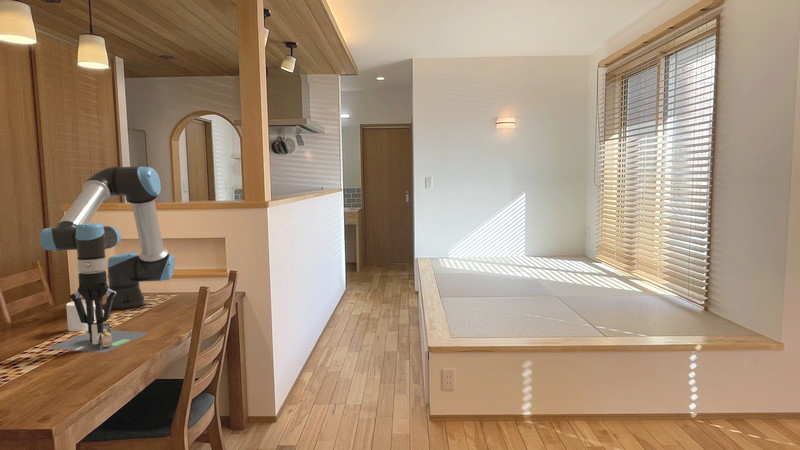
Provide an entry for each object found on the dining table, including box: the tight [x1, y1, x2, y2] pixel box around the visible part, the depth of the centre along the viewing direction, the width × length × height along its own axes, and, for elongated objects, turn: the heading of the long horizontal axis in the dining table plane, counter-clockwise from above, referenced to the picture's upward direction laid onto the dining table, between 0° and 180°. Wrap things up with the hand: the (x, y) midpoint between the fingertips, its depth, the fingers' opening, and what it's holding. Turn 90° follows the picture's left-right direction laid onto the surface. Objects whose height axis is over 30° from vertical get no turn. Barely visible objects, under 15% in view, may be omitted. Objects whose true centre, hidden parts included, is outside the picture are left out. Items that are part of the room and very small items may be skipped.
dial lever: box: [90, 322, 112, 347], centre depth 158 cm, size 15×6×5 cm, turn 43°
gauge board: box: [47, 329, 149, 354], centre depth 161 cm, size 20×22×1 cm
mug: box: [65, 299, 105, 332], centre depth 175 cm, size 9×12×11 cm
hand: (96, 342), depth 154 cm, fingers closed
